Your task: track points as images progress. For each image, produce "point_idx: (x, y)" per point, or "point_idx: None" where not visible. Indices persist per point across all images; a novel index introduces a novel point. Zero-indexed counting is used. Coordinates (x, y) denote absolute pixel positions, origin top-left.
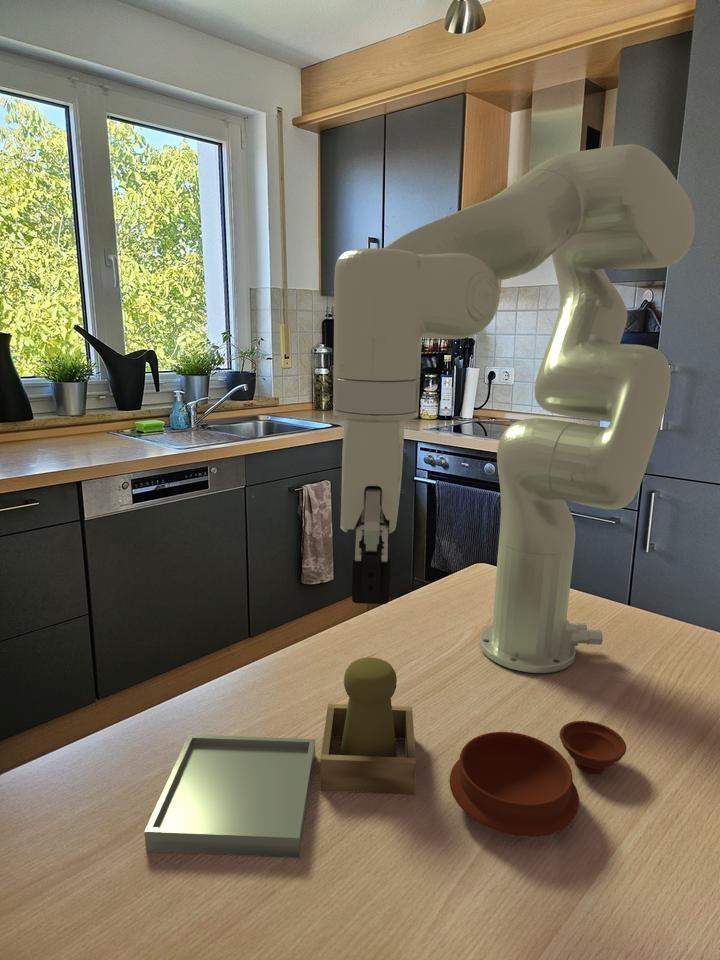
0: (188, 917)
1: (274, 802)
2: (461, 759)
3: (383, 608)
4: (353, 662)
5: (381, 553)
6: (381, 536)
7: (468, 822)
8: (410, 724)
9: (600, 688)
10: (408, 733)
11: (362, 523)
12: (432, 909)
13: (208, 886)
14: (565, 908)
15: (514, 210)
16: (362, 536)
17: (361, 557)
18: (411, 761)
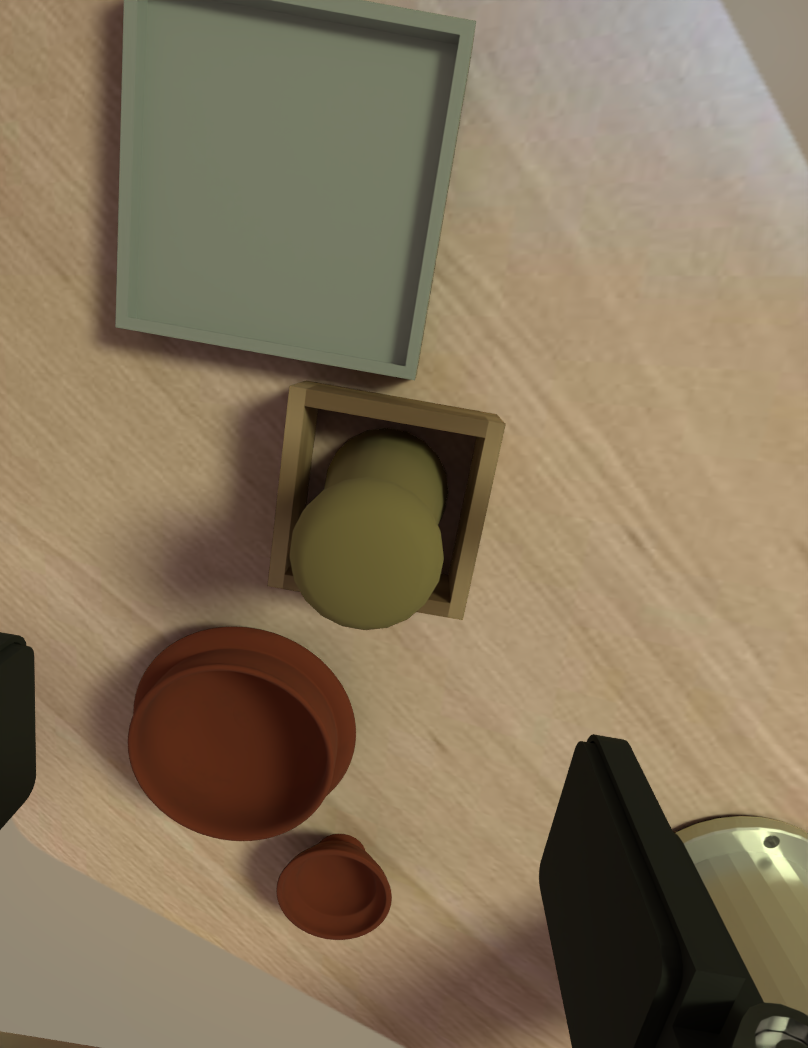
0: (5, 115)
1: (238, 277)
2: (249, 673)
3: None
4: (396, 522)
5: (555, 893)
6: (581, 1012)
7: None
8: None
9: (552, 961)
10: None
11: (691, 1009)
12: (46, 532)
13: (71, 148)
14: (58, 706)
15: None
16: (621, 897)
17: (581, 768)
18: (272, 578)
